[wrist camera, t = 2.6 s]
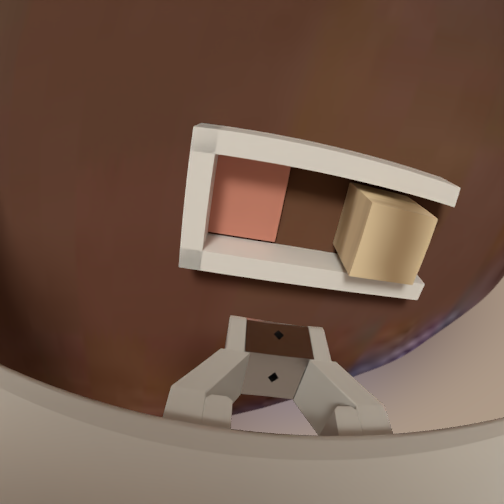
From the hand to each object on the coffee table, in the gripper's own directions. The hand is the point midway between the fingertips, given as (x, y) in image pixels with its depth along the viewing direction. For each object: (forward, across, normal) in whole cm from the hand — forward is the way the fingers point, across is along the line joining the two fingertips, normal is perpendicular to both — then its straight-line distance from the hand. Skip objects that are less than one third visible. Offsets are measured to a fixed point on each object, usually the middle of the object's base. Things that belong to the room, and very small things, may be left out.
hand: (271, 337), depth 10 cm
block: (+15, -8, 0) cm, 17 cm away
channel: (+14, -4, 0) cm, 15 cm away
